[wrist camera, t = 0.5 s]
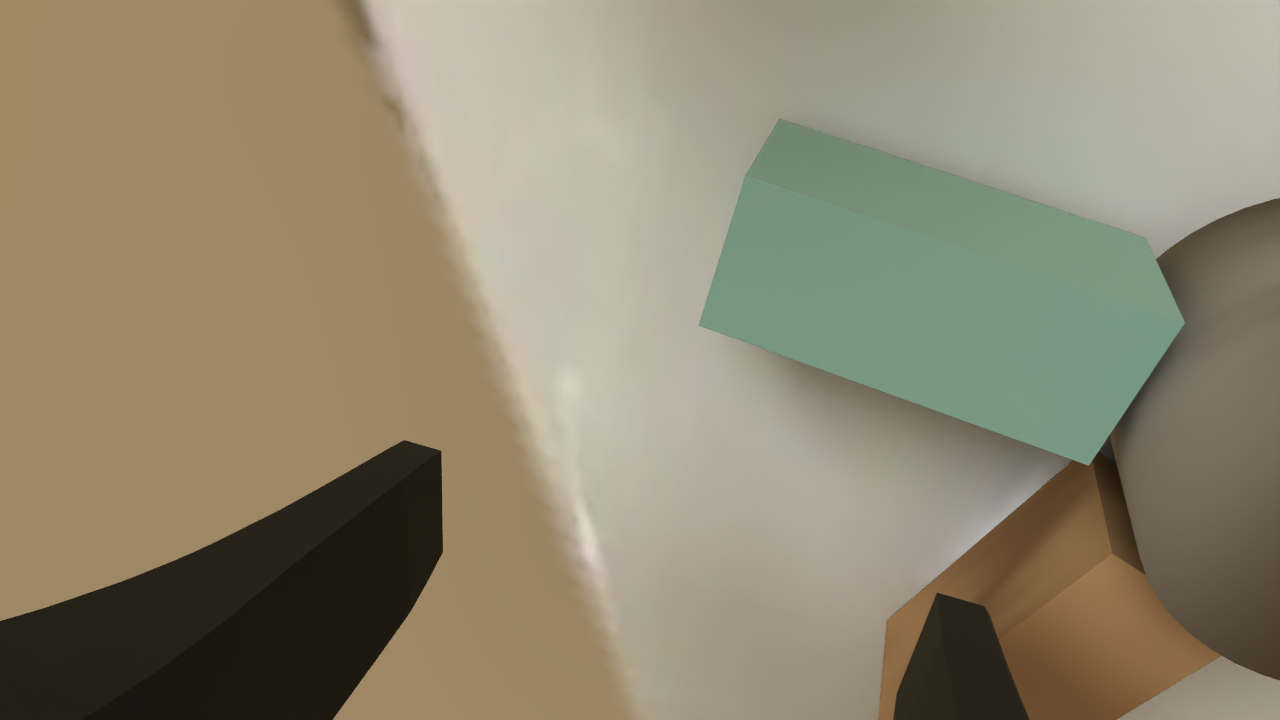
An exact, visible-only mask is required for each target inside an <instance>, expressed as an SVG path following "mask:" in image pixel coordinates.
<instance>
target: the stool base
mask: <svg viewBox="0 0 1280 720" xmlns="http://www.w3.org/2000/svg"><path fill="white" fill-rule="evenodd" d="M1156 261H1157V263H1158V265H1159V268H1160V270H1161V272H1162V274H1163V276H1164V278H1165V280H1166V283H1167V285H1168V287H1169V289H1170V291H1171V293H1172V296H1173V298H1174V300H1175V302H1176V304H1177V306H1178V309H1179V311H1180V313H1181V315H1182V317H1183V319H1184V322H1185V324H1184V325H1183V327H1182V328H1181V329H1180V331H1179V332H1178V334H1177V335H1176V337H1175V338H1174V340H1173V341H1172V343H1171V344H1170V346H1169V347H1168V349H1167V350H1166V352H1165V353H1164V355H1163V356H1162V358H1161V359H1160V361H1159V362H1158V364H1157V365H1156V367H1155V368H1154V370H1153V371H1152V373H1151V374H1150V376H1149V377H1148V379H1147V380H1146V382H1145V383H1144V384H1143V386H1142V387H1141V389H1140V390H1139V392H1138V393H1137V395H1136V396H1135V398H1134V399H1133V401H1132V402H1131V404H1130V405H1129V407H1128V408H1127V410H1126V411H1125V413H1124V414H1123V416H1122V417H1121V419H1120V420H1119V422H1118V423H1117V425H1116V426H1115V428H1114V429H1113V431H1112V432H1111V434H1110V435H1109V436H1110V440H1111V444H1112V448H1113V452H1114V456H1115V460H1116V464H1115V463H1114V462H1112V461H1111V460H1109V459H1108V458H1106V457H1104V456H1103V455H1101V454H1100V453H1097V454H1096V456H1095V457H1094V459H1093V460H1092V462H1091V463H1090V465H1089V466H1088V465H1085V464H1083V463H1080V462H1077V461H1074V460H1073V461H1072V462H1071V463H1070V464H1069V465H1068V466H1066V467H1065V468H1064V469H1063V470H1062V471H1061V472H1059V473H1058V474H1057V475H1056V476H1055V477H1054V478H1052V479H1051V480H1050V481H1049V482H1048V483H1047V484H1045V485H1044V486H1043V487H1042V488H1041V489H1040V490H1038V491H1037V492H1036V493H1035V494H1034V495H1033V496H1031V497H1030V498H1029V499H1028V500H1027V501H1026V502H1024V503H1023V504H1022V505H1021V506H1020V507H1019V508H1017V509H1016V510H1015V511H1014V512H1013V513H1012V514H1010V515H1009V516H1008V517H1007V518H1006V519H1005V520H1003V521H1002V522H1001V523H1000V524H999V525H998V526H996V527H995V528H994V529H993V530H992V531H991V532H989V533H988V534H987V535H986V536H985V537H984V538H982V539H981V540H980V541H979V542H978V543H977V544H975V545H974V546H973V547H972V548H971V549H970V550H968V551H967V552H966V553H965V554H964V555H963V556H962V557H960V558H959V559H958V560H957V561H956V562H955V563H953V564H952V565H951V566H950V567H949V568H948V569H946V570H945V571H944V572H943V573H942V574H941V575H939V576H938V577H937V578H936V579H935V580H934V581H932V582H931V583H930V584H929V585H928V586H927V587H925V588H924V589H923V590H922V591H921V592H920V593H918V594H917V595H916V596H915V597H914V598H913V599H911V600H910V601H909V602H908V603H907V604H906V605H904V606H903V607H902V608H901V609H900V610H899V611H897V612H896V613H895V614H894V615H893V616H892V617H890V618H889V619H888V620H887V626H886V638H885V649H884V661H883V672H882V684H881V695H880V707H879V718H878V720H893V717H894V710H895V702H896V695H897V691H898V688H899V686H900V683H901V681H902V678H903V676H904V673H905V671H906V668H907V666H908V663H909V661H910V658H911V656H912V653H913V651H914V648H915V646H916V643H917V641H918V638H919V636H920V633H921V631H922V628H923V626H924V623H925V621H926V618H927V616H928V613H929V611H930V608H931V606H932V603H933V601H934V598H935V596H936V593H940V594H944V595H947V596H951V597H954V598H958V599H961V600H965V601H968V602H972V603H975V604H979V605H982V606H985V608H986V610H987V611H988V613H989V614H990V617H991V620H992V623H993V626H994V629H995V631H996V634H997V637H998V640H999V643H1000V646H1001V648H1002V651H1003V654H1004V657H1005V659H1006V662H1007V664H1008V667H1009V670H1010V672H1011V675H1012V677H1013V680H1014V682H1015V685H1016V687H1017V690H1018V692H1019V695H1020V697H1021V700H1022V702H1023V705H1024V707H1025V709H1026V712H1027V714H1028V717H1029V719H1030V720H1116V719H1118V718H1120V717H1121V716H1123V715H1125V714H1126V713H1128V712H1129V711H1131V710H1133V709H1134V708H1136V707H1138V706H1139V705H1141V704H1143V703H1144V702H1146V701H1147V700H1149V699H1151V698H1152V697H1154V696H1156V695H1157V694H1159V693H1161V692H1162V691H1164V690H1165V689H1167V688H1169V687H1170V686H1172V685H1174V684H1175V683H1177V682H1179V681H1180V680H1182V679H1183V678H1185V677H1187V676H1188V675H1190V674H1192V673H1193V672H1195V671H1196V670H1198V669H1200V668H1201V667H1203V666H1205V665H1206V664H1208V663H1210V662H1211V661H1213V660H1214V659H1216V658H1218V657H1219V656H1221V655H1222V656H1224V657H1226V658H1227V659H1229V660H1231V661H1233V662H1234V663H1237V664H1239V665H1241V666H1243V667H1246V668H1248V669H1250V670H1253V671H1255V672H1257V673H1259V674H1262V675H1265V676H1268V677H1271V678H1274V679H1277V680H1280V198H1279V199H1274V200H1270V201H1267V202H1264V203H1261V204H1257V205H1254V206H1251V207H1247V208H1244V209H1242V210H1239V211H1237V212H1235V213H1232V214H1230V215H1227V216H1225V217H1222V218H1220V219H1218V220H1216V221H1214V222H1212V223H1210V224H1208V225H1206V226H1204V227H1203V228H1201V229H1199V230H1197V231H1195V232H1193V233H1191V234H1190V235H1188V236H1187V237H1186V238H1184V239H1183V240H1181V241H1180V242H1178V243H1177V244H1175V245H1174V246H1172V247H1171V248H1169V249H1168V250H1167V251H1166V252H1165V253H1163V254H1162V255H1161V256H1160V257H1159V258H1158V259H1156Z"/></svg>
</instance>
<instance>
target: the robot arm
mask: <svg viewBox="0 0 1280 720" xmlns="http://www.w3.org/2000/svg"><path fill="white" fill-rule="evenodd" d="M441 470H442V468H441V451H440V450H436V449H433V448H430V447H426V446H422V445H419V444H416V443H412V442H409V441H405V440H404V441H402V442H400V443H398V444H397V445H395V446H393V447H391V448H389V449H387V450H385V451H384V452H382V453H380V454H378V455H377V456H375V457H373V458H371V459H370V460H368V461H366V462H365V463H363V464H361V465H359V466H358V467H356V468H354V469H352V470H351V471H349V472H347V473H345V474H344V475H342V476H340V477H339V478H337V479H335V480H333V481H331V482H330V483H328V484H326V485H324V486H322V487H321V488H319V489H317V490H315V491H313V492H312V493H310V494H308V495H306V496H304V497H303V498H301V499H299V500H297V501H295V502H293V503H292V504H290V505H288V506H286V507H285V508H283V509H281V510H279V511H277V512H275V513H273V514H271V515H269V516H267V517H265V518H263V519H261V520H259V521H257V522H255V523H253V524H251V525H249V526H247V527H245V528H243V529H241V530H239V531H237V532H235V533H233V534H231V535H229V536H227V537H225V538H223V539H221V540H219V541H217V542H215V543H213V544H211V545H208V546H206V547H204V548H202V549H200V550H198V551H195V552H193V553H191V554H188V555H186V556H184V557H182V558H179V559H177V560H175V561H172V562H170V563H167V564H165V565H162V566H160V567H158V568H155V569H153V570H150V571H148V572H145V573H143V574H140V575H138V576H136V577H133V578H130V579H127V580H125V581H122V582H119V583H117V584H114V585H111V586H108V587H105V588H102V589H99V590H96V591H93V592H90V593H87V594H85V595H82V596H79V597H76V598H73V599H70V600H67V601H64V602H61V603H58V604H55V605H53V606H49V607H46V608H43V609H40V610H37V611H33V612H30V613H26V614H23V615H20V616H16V617H13V618H9V619H6V620H3V621H0V720H333V718H334V717H335V716H336V714H337V713H338V711H339V710H340V709H341V707H342V706H343V705H344V703H345V701H347V699H348V698H349V696H350V695H351V694H352V692H353V691H354V689H355V688H356V687H357V685H358V684H359V683H360V681H361V680H362V678H363V677H364V676H365V674H366V673H367V671H368V670H369V669H370V667H371V666H372V665H373V663H374V662H375V661H376V659H377V658H378V657H379V655H380V654H381V652H382V651H383V650H384V648H385V647H386V645H387V644H388V642H389V641H390V640H391V638H392V637H393V635H394V634H395V633H396V631H397V630H398V629H399V627H400V626H401V624H402V623H403V621H404V620H405V619H406V617H407V616H408V614H409V613H410V611H411V610H412V608H413V606H414V605H415V603H416V601H417V599H418V597H419V596H420V594H421V592H422V590H423V589H424V587H425V585H426V583H427V581H428V579H429V577H430V576H431V574H432V572H433V570H434V568H435V566H436V564H437V562H438V560H439V558H440V557H441V555H442V552H443V535H442V471H441ZM893 720H1030V719H1029V717H1028V714H1027V712H1026V709H1025V707H1024V705H1023V702H1022V700H1021V697H1020V695H1019V692H1018V690H1017V687H1016V685H1015V682H1014V680H1013V677H1012V675H1011V672H1010V670H1009V667H1008V664H1007V662H1006V659H1005V657H1004V654H1003V651H1002V648H1001V646H1000V643H999V640H998V637H997V634H996V631H995V629H994V626H993V623H992V620H991V617H990V614H989V613H988V611H987V610H986V608H985V606H982V605H979V604H975V603H972V602H968V601H965V600H961V599H958V598H954V597H951V596H947V595H944V594H940V593H936V596H935V598H934V601H933V603H932V606H931V608H930V611H929V613H928V616H927V618H926V621H925V623H924V626H923V628H922V631H921V633H920V636H919V638H918V641H917V643H916V646H915V648H914V651H913V653H912V656H911V658H910V661H909V663H908V666H907V668H906V671H905V673H904V676H903V678H902V681H901V683H900V686H899V688H898V691H897V695H896V702H895V710H894V717H893Z"/></svg>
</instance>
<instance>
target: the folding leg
mask: <svg viewBox="0 0 1280 720" xmlns="http://www.w3.org/2000/svg"><path fill="white" fill-rule="evenodd" d="M1184 324H1185V322H1184V319H1183V317H1182V315H1181V313H1180V311H1179V309H1178V306H1177V304H1176V302H1175V300H1174V298H1173V296H1172V293H1171V291H1170V289H1169V287H1168V285H1167V283H1166V280H1165V278H1164V276H1163V274H1162V272H1161V270H1160V268H1159V265H1158V263H1157V261H1156V259H1155V257H1154V255H1153V252H1152V250H1151V248H1150V246H1149V244H1148V242H1147V239H1146V238H1144V237H1141V236H1138V235H1135V234H1132V233H1129V232H1126V231H1123V230H1120V229H1117V228H1114V227H1111V226H1108V225H1104V224H1101V223H1098V222H1095V221H1092V220H1089V219H1086V218H1083V217H1080V216H1077V215H1074V214H1071V213H1068V212H1065V211H1061V210H1058V209H1055V208H1052V207H1049V206H1046V205H1043V204H1040V203H1037V202H1034V201H1031V200H1028V199H1025V198H1021V197H1018V196H1015V195H1012V194H1009V193H1006V192H1003V191H1000V190H997V189H994V188H991V187H988V186H985V185H981V184H978V183H975V182H972V181H969V180H966V179H963V178H960V177H957V176H954V175H951V174H948V173H945V172H942V171H938V170H935V169H932V168H929V167H926V166H923V165H920V164H917V163H914V162H911V161H908V160H905V159H902V158H898V157H895V156H892V155H889V154H886V153H883V152H880V151H877V150H874V149H871V148H868V147H865V146H862V145H858V144H855V143H852V142H849V141H846V140H843V139H840V138H837V137H834V136H831V135H828V134H825V133H822V132H818V131H815V130H812V129H809V128H806V127H803V126H800V125H797V124H794V123H791V122H788V121H785V120H782V119H779V121H778V123H777V124H776V126H775V128H774V129H773V131H772V133H771V134H770V136H769V137H768V139H767V141H766V142H765V144H764V146H763V147H762V149H761V151H760V152H759V154H758V156H757V157H756V159H755V161H754V162H753V164H752V166H751V167H750V169H749V171H748V172H747V174H746V175H745V179H744V182H743V185H742V188H741V191H740V195H739V198H738V201H737V204H736V207H735V211H734V214H733V217H732V220H731V224H730V227H729V230H728V233H727V236H726V240H725V243H724V246H723V249H722V252H721V256H720V259H719V262H718V265H717V268H716V272H715V275H714V278H713V281H712V284H711V288H710V291H709V294H708V297H707V300H706V304H705V307H704V310H703V313H702V316H701V320H700V323H699V326H701V327H704V328H707V329H710V330H712V331H715V332H718V333H721V334H724V335H726V336H729V337H732V338H735V339H738V340H740V341H743V342H746V343H749V344H751V345H754V346H757V347H760V348H763V349H765V350H768V351H771V352H774V353H776V354H779V355H782V356H785V357H788V358H790V359H793V360H796V361H799V362H802V363H804V364H807V365H810V366H813V367H815V368H818V369H821V370H824V371H827V372H829V373H832V374H835V375H838V376H840V377H843V378H846V379H849V380H852V381H854V382H857V383H860V384H863V385H866V386H868V387H871V388H874V389H877V390H879V391H882V392H885V393H888V394H891V395H893V396H896V397H899V398H902V399H904V400H907V401H910V402H913V403H916V404H918V405H921V406H924V407H927V408H930V409H932V410H935V411H938V412H941V413H943V414H946V415H949V416H952V417H955V418H957V419H960V420H963V421H966V422H968V423H971V424H974V425H977V426H980V427H982V428H985V429H988V430H991V431H994V432H996V433H999V434H1002V435H1005V436H1007V437H1010V438H1013V439H1016V440H1019V441H1021V442H1024V443H1027V444H1030V445H1032V446H1035V447H1038V448H1041V449H1044V450H1046V451H1049V452H1052V453H1055V454H1058V455H1060V456H1063V457H1066V458H1069V459H1071V460H1074V461H1077V462H1080V463H1083V464H1085V465H1088V466H1089V465H1090V463H1091V462H1092V460H1093V459H1094V457H1095V456H1096V454H1097V453H1098V451H1099V450H1100V448H1101V447H1102V445H1103V444H1104V442H1105V441H1106V439H1107V438H1108V437H1109V435H1110V434H1111V432H1112V431H1113V429H1114V428H1115V426H1116V425H1117V423H1118V422H1119V420H1120V419H1121V417H1122V416H1123V414H1124V413H1125V411H1126V410H1127V408H1128V407H1129V405H1130V404H1131V402H1132V401H1133V399H1134V398H1135V396H1136V395H1137V393H1138V392H1139V390H1140V389H1141V387H1142V386H1143V384H1144V383H1145V382H1146V380H1147V379H1148V377H1149V376H1150V374H1151V373H1152V371H1153V370H1154V368H1155V367H1156V365H1157V364H1158V362H1159V361H1160V359H1161V358H1162V356H1163V355H1164V353H1165V352H1166V350H1167V349H1168V347H1169V346H1170V344H1171V343H1172V341H1173V340H1174V338H1175V337H1176V335H1177V334H1178V332H1179V331H1180V329H1181V328H1182V327H1183V325H1184Z"/></svg>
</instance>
